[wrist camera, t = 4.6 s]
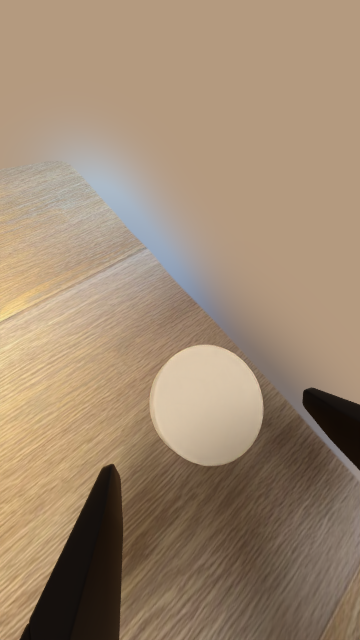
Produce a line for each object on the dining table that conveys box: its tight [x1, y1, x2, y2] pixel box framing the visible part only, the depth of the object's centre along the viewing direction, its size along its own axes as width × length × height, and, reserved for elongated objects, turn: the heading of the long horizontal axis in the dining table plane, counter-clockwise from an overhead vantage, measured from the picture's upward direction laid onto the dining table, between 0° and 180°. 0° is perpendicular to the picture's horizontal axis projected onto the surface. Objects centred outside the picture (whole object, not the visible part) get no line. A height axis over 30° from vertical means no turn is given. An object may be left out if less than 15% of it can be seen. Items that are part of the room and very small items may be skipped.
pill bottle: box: [149, 345, 263, 466], centre depth 12 cm, size 6×6×10 cm
